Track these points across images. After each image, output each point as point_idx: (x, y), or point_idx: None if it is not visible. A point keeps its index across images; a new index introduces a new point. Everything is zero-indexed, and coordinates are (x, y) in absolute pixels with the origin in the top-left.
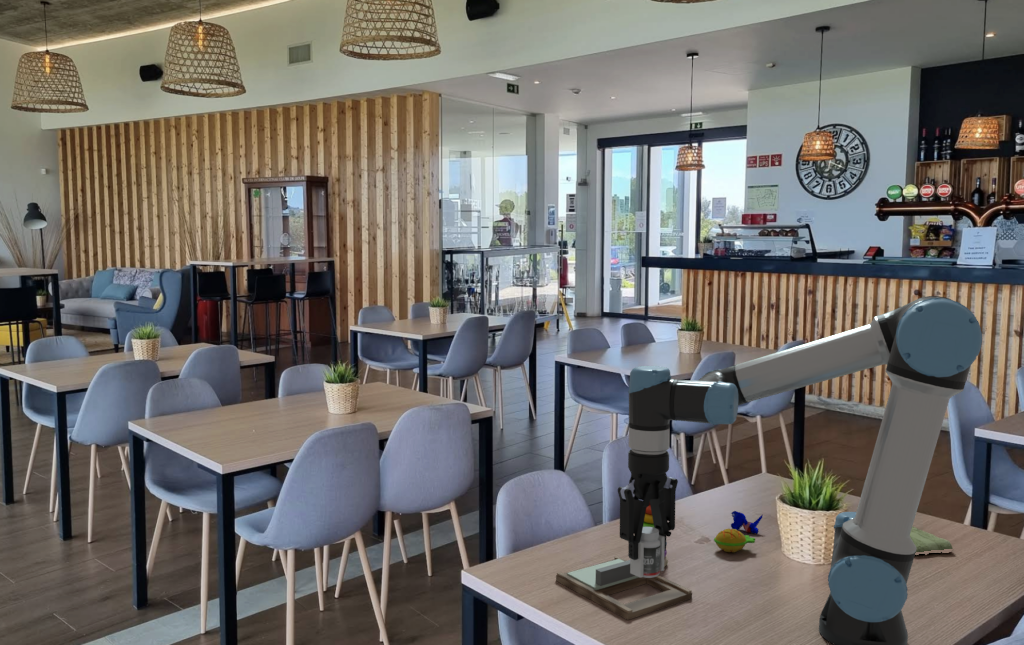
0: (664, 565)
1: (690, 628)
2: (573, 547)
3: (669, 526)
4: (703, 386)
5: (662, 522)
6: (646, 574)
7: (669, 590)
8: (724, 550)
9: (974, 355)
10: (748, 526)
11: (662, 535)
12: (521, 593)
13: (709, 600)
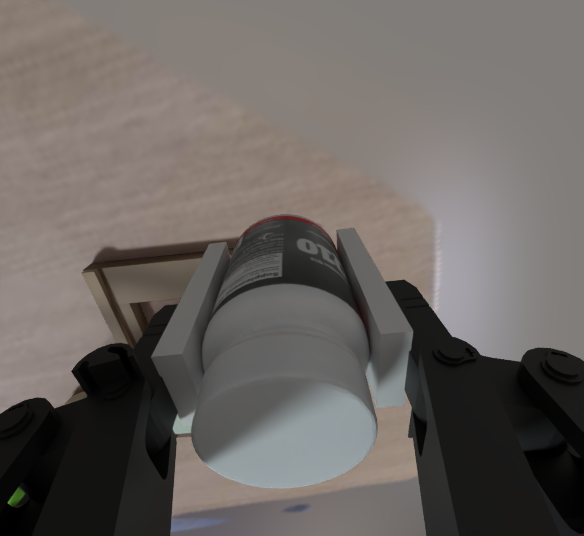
0: (82, 393)
1: (184, 130)
2: (213, 486)
3: (44, 437)
4: None
5: (115, 493)
6: (323, 230)
7: (135, 300)
8: None
9: None
10: None
11: (155, 377)
12: (409, 402)
13: (49, 237)
